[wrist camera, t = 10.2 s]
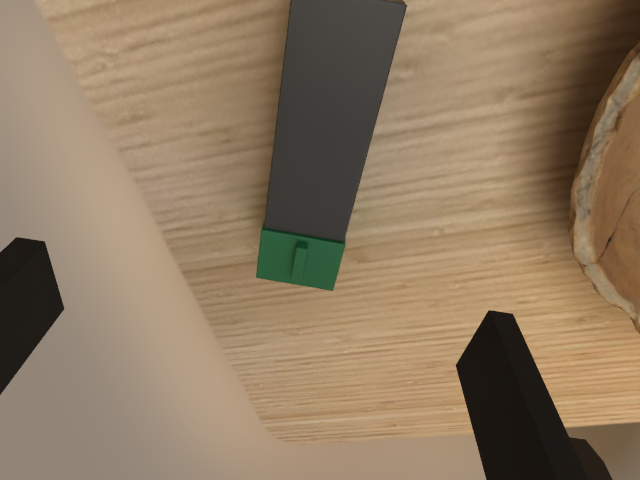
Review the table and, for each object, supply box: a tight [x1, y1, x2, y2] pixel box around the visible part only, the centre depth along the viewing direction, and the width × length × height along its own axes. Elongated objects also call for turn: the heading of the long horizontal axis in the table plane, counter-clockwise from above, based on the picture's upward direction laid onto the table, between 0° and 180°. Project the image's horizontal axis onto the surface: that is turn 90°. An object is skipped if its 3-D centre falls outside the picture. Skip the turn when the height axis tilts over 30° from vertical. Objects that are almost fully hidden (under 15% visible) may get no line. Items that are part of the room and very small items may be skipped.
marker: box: [256, 0, 407, 291], centre depth 21 cm, size 15×5×5 cm, turn 170°
